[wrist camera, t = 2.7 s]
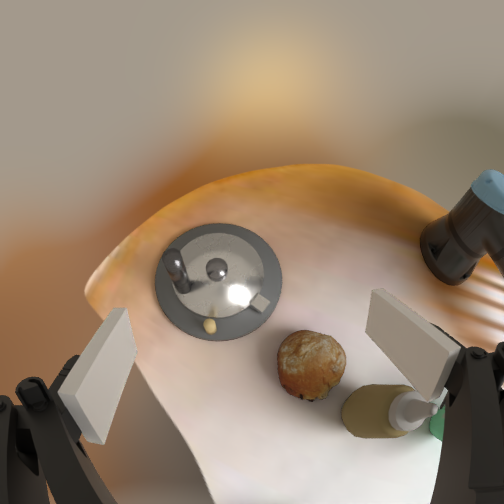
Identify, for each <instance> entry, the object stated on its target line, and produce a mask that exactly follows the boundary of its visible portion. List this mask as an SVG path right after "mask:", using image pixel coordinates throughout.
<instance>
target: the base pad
mask: <svg viewBox="0 0 504 504" xmlns="http://www.w3.org/2000/svg"><path fill="white" fill-rule="evenodd" d="M212 233H225V234H231V235H234V236H237V237H239V238H241V239H243V240H245V241H246V242H248V243H249V244H250V245H251V246H252V247H253V248H254V249H255V250H256V251H257V253H258V255H259V256H260V258H261V261H262V264H263V269H264V279H263V285H262V288H261V291H260V295H261V296H263V297H264V298H266V299H267V300H269V301H270V304H269V306H268V307H267V308H266V310H265V311H264V312H263V313H262V315H261V314H260V313H258V312H257V311H256V310H254V309H253V308H251V307H249V308H248V309H247V310H245V311H244V312H242V313H240V314H238V315H236V316H233V317H230V318H225V319H210V318H204V317H201V316H199V315H196V314H195V313H193V312H191V311H190V310H188V309H187V308H186V307H185V306H184V305H183V304H182V303H181V301H180V300H179V298H178V297H177V295H176V293H175V290H174V288H173V284H172V280H171V278H170V276H169V274H168V272H167V270H166V267H165V265H164V263H163V261H162V257H161V259H160V261H159V264H158V267H157V271H156V276H155V288H156V294H157V298H158V301H159V304H160V306H161V308H162V309H163V311H164V313H165V314H166V315H167V317H168V318H169V319H170V321H171V322H172V323H173V324H175V325H176V326H177V327H178V328H179V329H181V330H182V331H184V332H185V333H187V334H189V335H191V336H194V337H196V338H199V339H204V340H209V341H227V340H233V339H237V338H240V337H243V336H245V335H247V334H249V333H251V332H253V331H254V330H256V329H257V328H259V327H260V326H261V325H262V324H263V323H264V322H265V321H266V320H267V319H268V318H269V317H270V315H271V314H272V312H273V311H274V309H275V307H276V305H277V302H278V300H279V297H280V294H281V288H282V273H281V268H280V264H279V261H278V259H277V257H276V255H275V253H274V252H273V250H272V249H271V247H270V246H269V245H268V244H267V243H266V242H265V241H264V240H263V239H262V238H261V237H259V236H258V235H257V234H255V233H253V232H252V231H250V230H248V229H245V228H243V227H240V226H236V225H231V224H221V223H219V224H208V225H203V226H199V227H196V228H194V229H191V230H189V231H187V232H185V233H184V234H182V235H181V236H179V237H178V238H177V239H176V240H174V241H173V242H172V243H171V244H170V245H169V247H168V248H167V249H170V248H175V249H178V250H179V251H181V249H182V248H183V247H184V246H185V245H187V244H188V243H189V242H191V241H192V240H194V239H196V238H198V237H200V236H203V235H206V234H212ZM167 249H166V250H167Z"/></svg>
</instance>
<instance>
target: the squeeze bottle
mask: <svg viewBox="0 0 504 504" xmlns="http://www.w3.org/2000/svg"><path fill="white" fill-rule="evenodd" d="M437 411H438V406H437V405H436V404H433V403H429V402H427V401H426V400H425V399H424V398H423V396H422V395H421V394H420V393H419V392H418V391H415V390H414V389H413V388H412V387H410V386H406V385H377V384H372V385H366V386H362V387H361V388H359V389H357V390H356V391H354V392H353V393H352V394H351V396H350V397H349V398H348V399H347V400H346V402H345V403H344V405H343V407H342V410H341V415H342V420H343V422H344V424H345V426H346V428H347V430H348V431H349V432H350V433H351V434H353V435H354V436H356V437H361V438H397V437H400V436H404V435H405V434H407V433H408V432H409V431H412V430H415V429H417V428H418V427H419V426H420V425H422V423H423V422H424V420H425V418H428V417H430V416H433V415H435V414H436V413H437Z"/></svg>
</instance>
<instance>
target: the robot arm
mask: <svg viewBox="0 0 504 504" xmlns="http://www.w3.org/2000/svg"><path fill="white" fill-rule="evenodd" d="M420 246H421V251H422V254H423V257H424V259H425V261H426V263H427V265H428V267H429V268H430V270H431V271H432V272H433V273H434V275H435V276H436V277H437V278H439V279H440V280H441V281H443V282H444V283H446V284H449V285H453V286H455V285H459V284H461V283H463V282H464V281H465V280H467V279H468V278H469V277H470V275H471V274H472V272H473V271H474V269H475V267H476V266H477V264H478V262H479V260H480V259H481V258H482V257H483V256H484V255H485V254H486V253H488V254H489V256H490V257H491V258H492V260H493V261H494V263H495V265H496V266H497V268H498V269H499V271H500V272H501V274H502V276H503V277H504V175H503V174H502V173H500V172H498V171H496V170H492V169H488V170H485V171H483V172H482V173H481V174H480V176H479V177H478V178H477V179H476V180H475V181H473V182H472V184H471V187H470V189H469V190H468V191H467V192H466V193H465V195H464V196H463V197H462V198H461V200H460V201H459V202H458V203H457V204H456V206H455V207H454V208H453V209H452V210H451V211H450V212H449V213H448V214H447V215H445V216H443V217H441V218H439V219H437V220H435V221H432V222H431V223H430V224H429V225H428V226H427V227H426V228H425V229H424V230H423V232H422V234H421V238H420ZM365 332H366V334H367V335H368V336H369V337H370V338H371V339H372V340H373V341H374V342H375V343H376V345H377V346H378V347H379V348H380V349H381V350H382V351H383V352H384V353H385V355H386V356H387V357H388V358H389V359H390V360H391V361H392V362H393V363H394V365H395V366H396V367H397V368H398V369H399V370H400V371H401V372H402V374H403V375H404V376H405V377H406V378H407V379H408V380H409V382H410V383H411V384H412V385H413V386H414V387H415V388H416V390H417V391H418V392H419V393H420V394H421V395H422V396H423V398H424V399H425V400H426V401H427V402H430V401H432V400H434V399H436V398H439V397H440V395H441V393H442V391H443V389H444V387H445V388H446V389H447V390H448V392H447V394H446V396H445V398H444V400H443V402H442V404H441V406H440V409H442V407H443V406H444V405H445V409H444V410H445V419H444V431H443V440H442V448H441V455H440V462H439V467H438V473H437V478H436V483H435V487H434V491H433V495H432V499H431V503H430V504H504V390H503V389H502V388H501V386H502V384H503V382H504V342H500V343H499V344H498V345H497V347H496V349H495V352H493V353H487V352H486V351H485V350H484V349H482V348H479V347H469V348H465V347H464V346H463V345H462V344H460V343H459V342H458V341H456V340H455V339H454V338H453V337H451V336H449V334H447V333H446V332H444V330H442V329H441V328H440V327H438V326H436V325H434V324H432V323H429V322H428V321H427V320H425V319H424V318H423V317H421V316H420V315H419V314H417V313H416V312H415V311H413V310H412V309H411V308H409V307H408V306H406V305H405V304H404V303H402V302H401V301H400V300H398V299H397V298H396V297H394V296H393V295H391V294H390V293H389V292H387V291H386V290H384V289H376V290H372V294H371V301H370V308H369V314H368V320H367V325H366V331H365ZM137 352H138V351H137V348H136V344H135V340H134V336H133V333H132V328H131V324H130V320H129V316H128V311H127V308H113V309H112V311H111V312H110V314H109V315H108V316H107V318H106V319H105V321H104V322H103V323H102V325H101V326H100V328H99V329H98V330H97V332H96V333H95V335H94V336H93V338H92V339H91V341H90V342H89V343H88V345H87V346H86V348H85V349H84V351H83V353H82V354H81V355H75V356H73V357H72V358H71V359H69V360H68V361H67V362H66V364H65V365H64V367H63V370H61V371H60V373H59V376H57V377H56V379H55V380H54V382H53V383H52V385H51V386H50V388H49V389H47V387H46V385H45V383H44V382H43V380H42V379H41V378H39V377H29V378H26V379H24V380H22V381H21V382H20V383H19V384H18V385H17V387H16V391H15V393H16V395H17V396H18V398H19V400H20V401H21V403H22V405H14V404H13V403H12V401H11V400H10V398H9V397H7V396H4V395H0V504H50V502H49V497H48V491H47V485H46V481H47V483H48V486H49V488H50V490H51V493H52V495H53V497H54V500H55V502H56V504H117V502H116V501H115V499H114V498H113V496H112V495H111V493H110V492H109V490H108V489H107V487H106V486H105V484H104V482H103V481H102V479H101V478H100V476H99V474H98V473H97V471H96V469H95V467H94V466H93V464H92V462H91V460H90V458H89V456H88V455H87V453H86V451H85V449H84V447H83V445H82V443H81V442H80V441H79V438H80V436H81V433H82V434H83V435H84V437H85V438H86V440H87V441H88V442H92V443H97V444H102V445H104V444H105V441H106V438H107V435H108V432H109V429H110V426H111V423H112V420H113V417H114V414H115V411H116V408H117V405H118V402H119V400H120V397H121V394H122V391H123V388H124V386H125V383H126V380H127V378H128V375H129V373H130V370H131V367H132V365H133V362H134V360H135V357H136V355H137Z"/></svg>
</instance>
